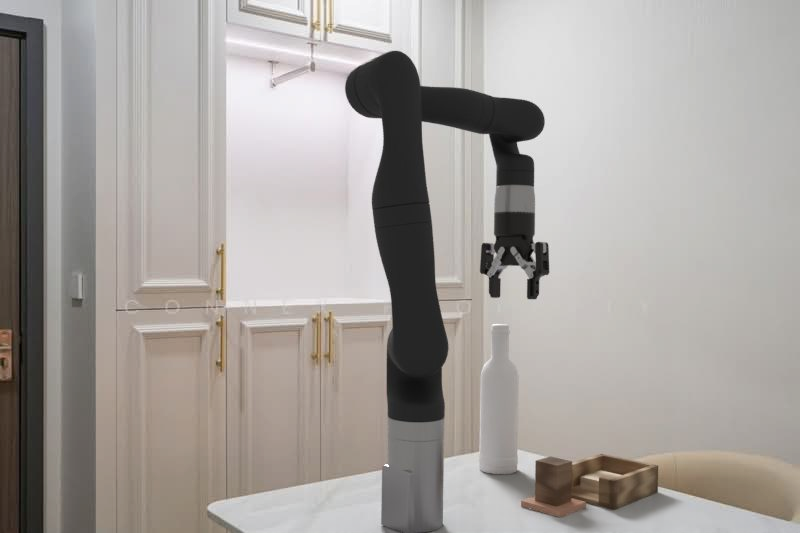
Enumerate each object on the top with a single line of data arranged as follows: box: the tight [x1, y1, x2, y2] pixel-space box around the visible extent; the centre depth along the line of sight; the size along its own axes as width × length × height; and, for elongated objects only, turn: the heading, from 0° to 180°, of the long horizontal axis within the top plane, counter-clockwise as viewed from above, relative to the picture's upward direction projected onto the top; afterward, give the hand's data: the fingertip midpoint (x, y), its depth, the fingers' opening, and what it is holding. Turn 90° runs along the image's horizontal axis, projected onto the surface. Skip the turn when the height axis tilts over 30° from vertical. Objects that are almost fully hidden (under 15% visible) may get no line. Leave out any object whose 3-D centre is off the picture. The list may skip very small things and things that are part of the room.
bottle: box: [478, 323, 519, 475], centre depth 158 cm, size 8×8×30 cm
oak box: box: [572, 453, 659, 511], centre depth 142 cm, size 16×12×5 cm
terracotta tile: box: [520, 495, 587, 518], centre depth 133 cm, size 8×8×1 cm
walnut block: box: [534, 456, 573, 507], centre depth 133 cm, size 4×4×7 cm
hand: (513, 298), depth 142 cm, fingers open, 8 cm apart
